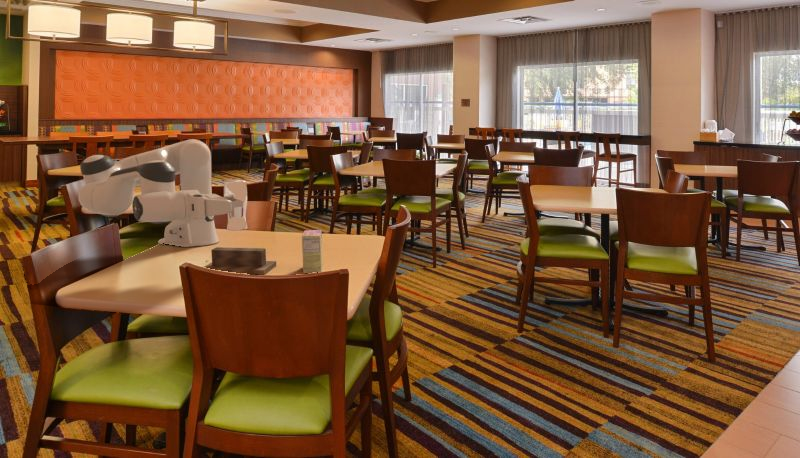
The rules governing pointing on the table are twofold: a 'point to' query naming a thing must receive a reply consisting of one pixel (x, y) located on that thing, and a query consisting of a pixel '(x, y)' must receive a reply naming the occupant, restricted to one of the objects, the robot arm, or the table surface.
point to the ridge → (241, 260)
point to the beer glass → (236, 192)
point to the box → (312, 251)
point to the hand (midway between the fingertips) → (239, 201)
